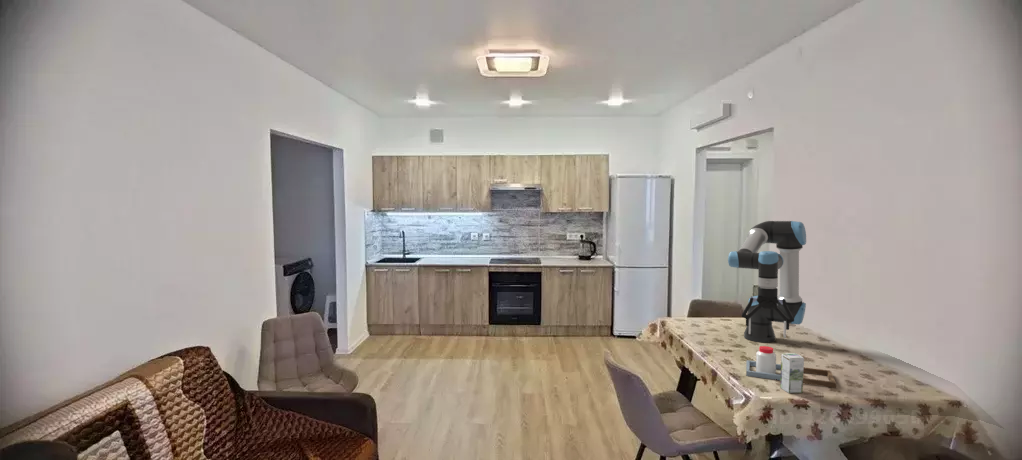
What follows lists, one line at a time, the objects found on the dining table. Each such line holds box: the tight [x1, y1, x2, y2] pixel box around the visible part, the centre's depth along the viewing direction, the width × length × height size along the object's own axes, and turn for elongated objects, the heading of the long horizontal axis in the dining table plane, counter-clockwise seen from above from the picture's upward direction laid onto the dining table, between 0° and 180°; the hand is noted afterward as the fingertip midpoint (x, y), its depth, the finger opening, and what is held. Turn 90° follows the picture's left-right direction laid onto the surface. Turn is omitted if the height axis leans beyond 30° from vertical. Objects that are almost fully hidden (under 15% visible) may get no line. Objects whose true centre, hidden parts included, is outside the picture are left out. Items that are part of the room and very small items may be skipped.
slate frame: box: [745, 359, 781, 381], centre depth 211 cm, size 15×15×2 cm
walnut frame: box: [803, 366, 837, 389], centre depth 204 cm, size 15×15×2 cm
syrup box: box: [779, 352, 805, 394], centre depth 191 cm, size 6×6×14 cm
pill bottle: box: [755, 345, 777, 374], centre depth 211 cm, size 8×8×11 cm
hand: (766, 335), depth 210 cm, fingers open, 13 cm apart
